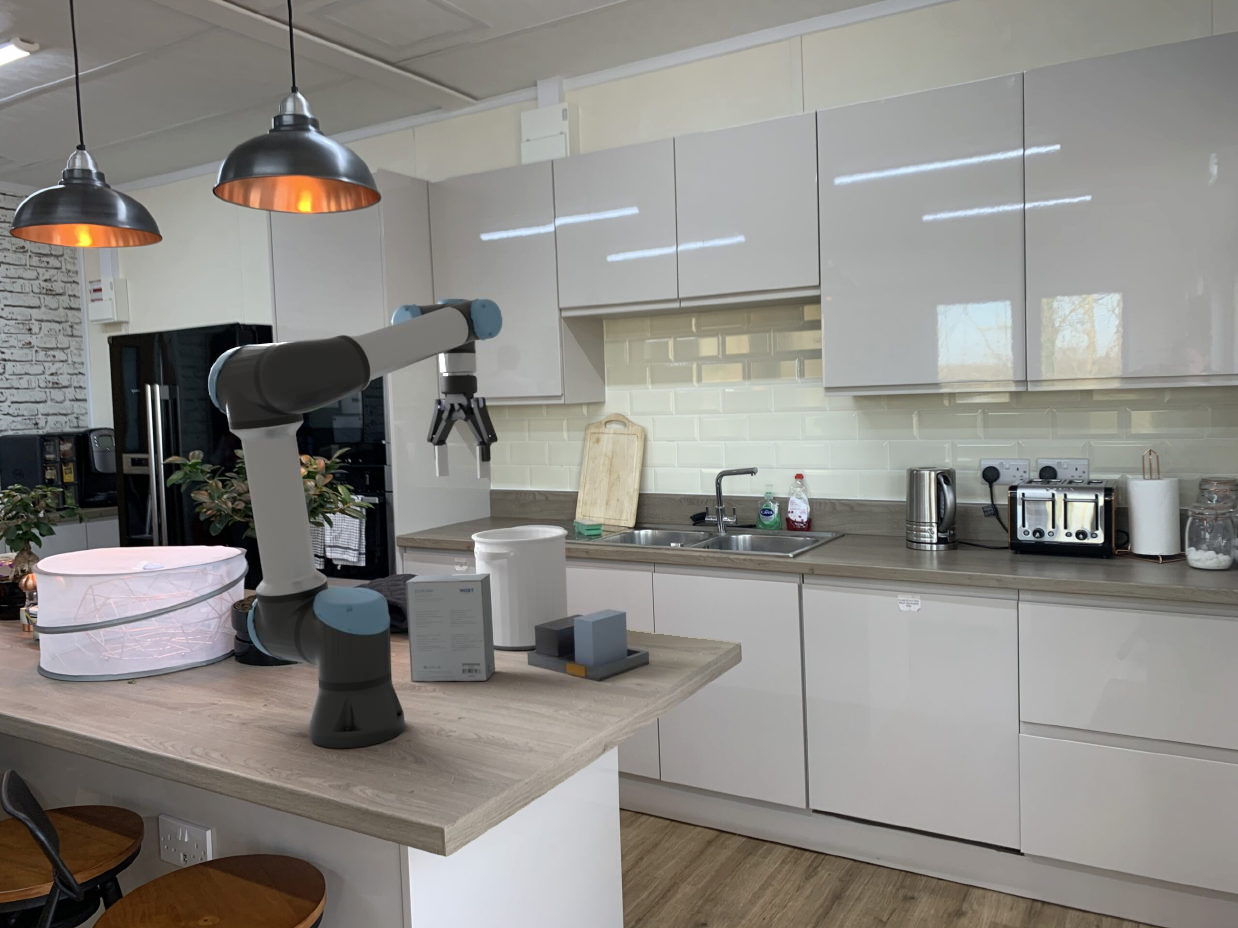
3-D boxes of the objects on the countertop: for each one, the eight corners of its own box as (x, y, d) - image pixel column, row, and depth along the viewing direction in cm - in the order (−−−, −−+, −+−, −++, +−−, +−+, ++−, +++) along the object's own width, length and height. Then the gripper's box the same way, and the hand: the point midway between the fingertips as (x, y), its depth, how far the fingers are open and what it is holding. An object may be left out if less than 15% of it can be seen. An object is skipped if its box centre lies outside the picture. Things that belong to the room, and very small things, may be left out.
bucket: (525, 659, 196) (521, 543, 195) (449, 647, 208) (445, 538, 207) (594, 632, 218) (591, 528, 216) (522, 623, 230) (518, 524, 228)
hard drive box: (496, 670, 189) (492, 572, 187) (487, 681, 181) (483, 580, 180) (421, 670, 190) (416, 573, 189) (409, 682, 182) (404, 581, 181)
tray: (598, 681, 179) (596, 640, 178) (527, 664, 192) (525, 626, 192) (649, 663, 190) (647, 624, 190) (578, 648, 203) (577, 612, 203)
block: (593, 671, 183) (591, 621, 182) (575, 667, 186) (573, 618, 186) (627, 660, 190) (626, 612, 190) (609, 656, 194) (607, 609, 193)
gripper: (512, 372, 188) (516, 477, 190) (436, 377, 205) (440, 473, 206) (483, 372, 183) (487, 480, 184) (407, 377, 199) (412, 476, 201)
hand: (462, 477), depth 195 cm, fingers open, 13 cm apart
